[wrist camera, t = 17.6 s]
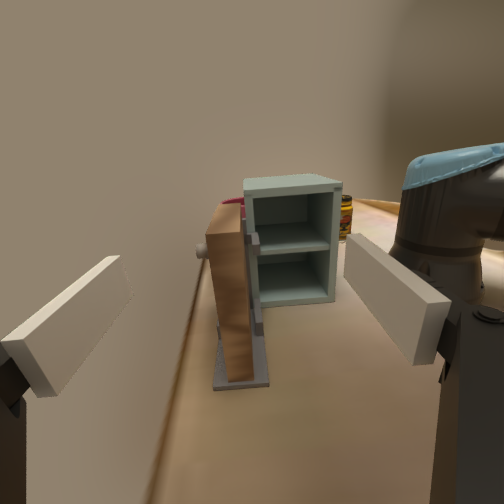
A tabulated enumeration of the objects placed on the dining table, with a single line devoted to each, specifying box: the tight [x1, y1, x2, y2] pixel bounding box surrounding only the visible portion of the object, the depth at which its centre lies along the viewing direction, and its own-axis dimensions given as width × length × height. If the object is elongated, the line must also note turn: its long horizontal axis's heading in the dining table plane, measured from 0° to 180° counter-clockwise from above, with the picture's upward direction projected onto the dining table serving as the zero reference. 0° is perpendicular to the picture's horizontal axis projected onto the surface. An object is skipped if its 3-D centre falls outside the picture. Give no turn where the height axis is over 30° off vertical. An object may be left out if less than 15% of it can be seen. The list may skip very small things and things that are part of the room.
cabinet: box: [206, 173, 343, 391], centre depth 38 cm, size 20×31×20 cm, turn 2°
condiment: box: [339, 195, 353, 243], centre depth 69 cm, size 7×8×12 cm
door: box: [196, 203, 254, 383], centre depth 30 cm, size 4×13×18 cm, turn 2°
